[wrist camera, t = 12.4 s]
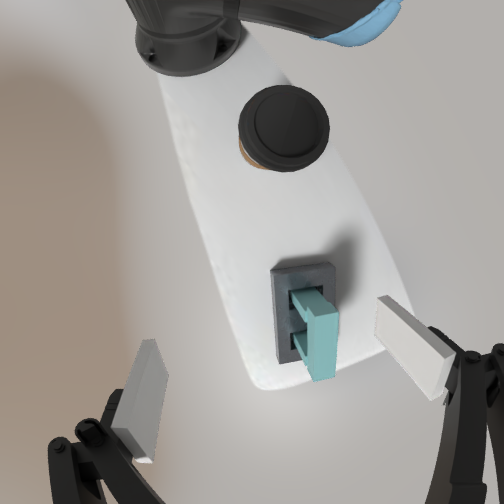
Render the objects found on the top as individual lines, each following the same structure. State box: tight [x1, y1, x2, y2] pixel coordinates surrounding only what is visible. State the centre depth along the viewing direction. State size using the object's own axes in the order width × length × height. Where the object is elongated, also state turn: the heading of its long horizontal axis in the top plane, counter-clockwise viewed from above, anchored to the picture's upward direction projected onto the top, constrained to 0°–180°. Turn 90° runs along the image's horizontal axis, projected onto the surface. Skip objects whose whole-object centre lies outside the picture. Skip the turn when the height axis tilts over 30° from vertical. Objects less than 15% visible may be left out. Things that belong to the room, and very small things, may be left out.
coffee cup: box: [238, 85, 330, 172], centre depth 29 cm, size 8×8×15 cm
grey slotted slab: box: [270, 262, 335, 364], centre depth 41 cm, size 15×9×2 cm, turn 5°
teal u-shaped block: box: [290, 286, 339, 382], centre depth 37 cm, size 10×4×11 cm, turn 5°
